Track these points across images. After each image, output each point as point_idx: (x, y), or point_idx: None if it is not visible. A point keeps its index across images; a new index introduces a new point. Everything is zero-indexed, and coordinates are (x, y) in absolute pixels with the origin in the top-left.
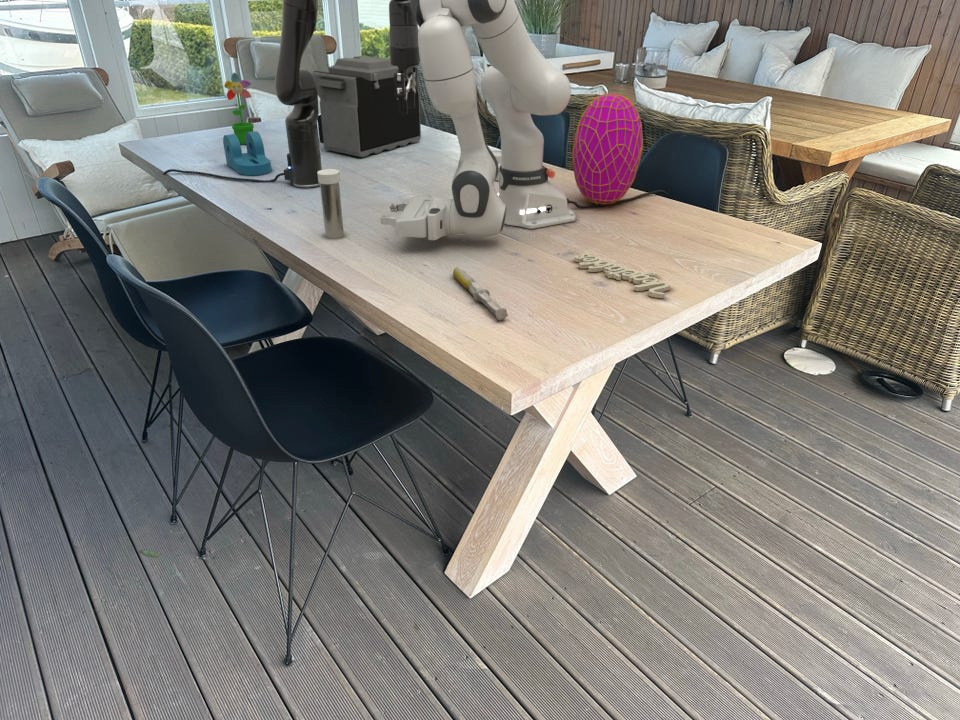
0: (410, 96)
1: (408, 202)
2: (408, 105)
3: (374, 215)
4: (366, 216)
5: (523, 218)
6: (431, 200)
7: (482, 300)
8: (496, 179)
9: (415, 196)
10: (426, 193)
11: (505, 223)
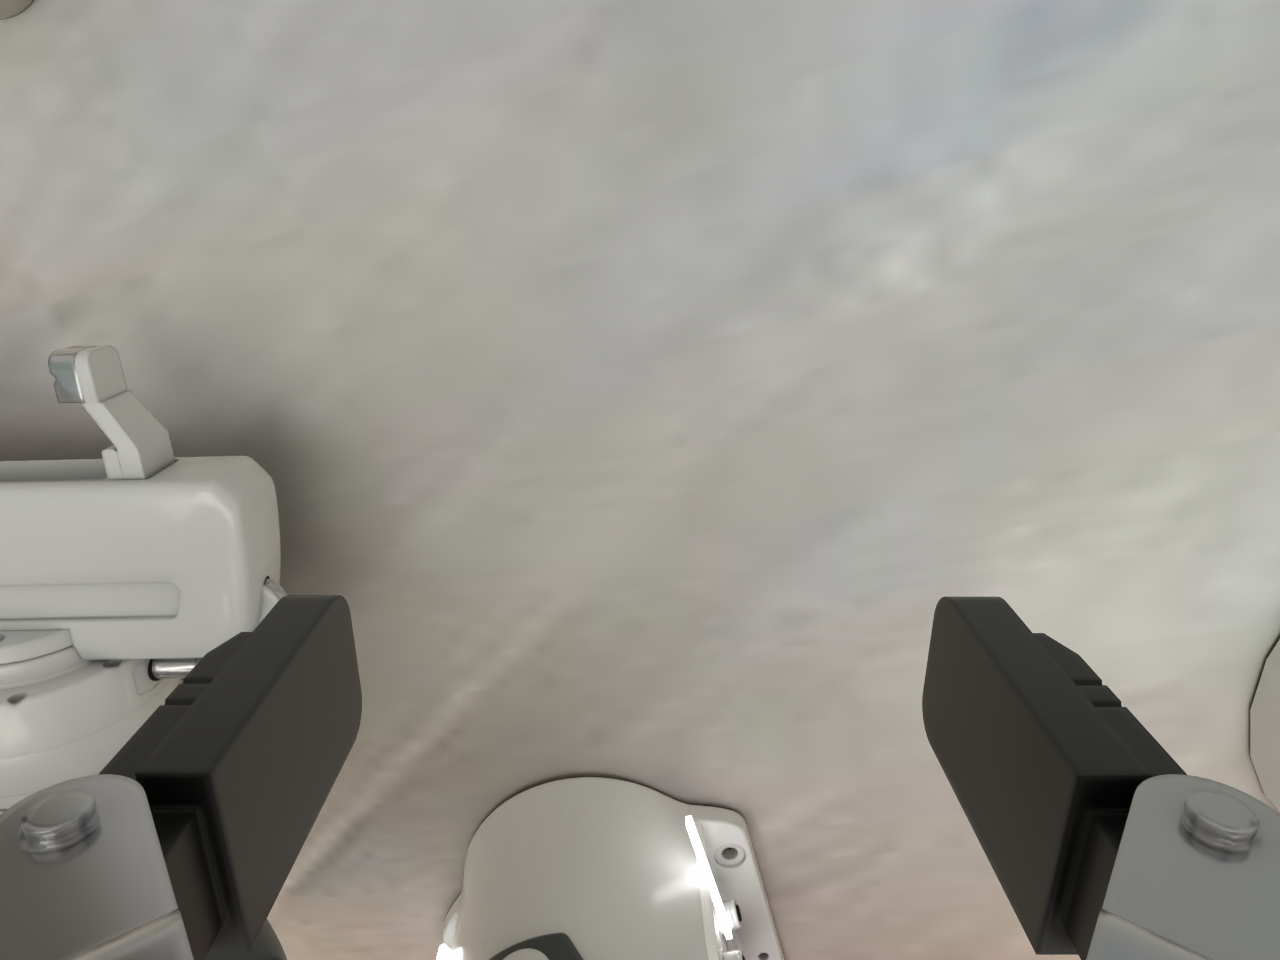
0: (1025, 834)
1: (80, 489)
2: (955, 653)
3: (448, 109)
4: (413, 56)
5: (454, 935)
6: (171, 623)
7: None
8: (1254, 720)
9: (211, 509)
10: (976, 350)
11: (473, 838)
